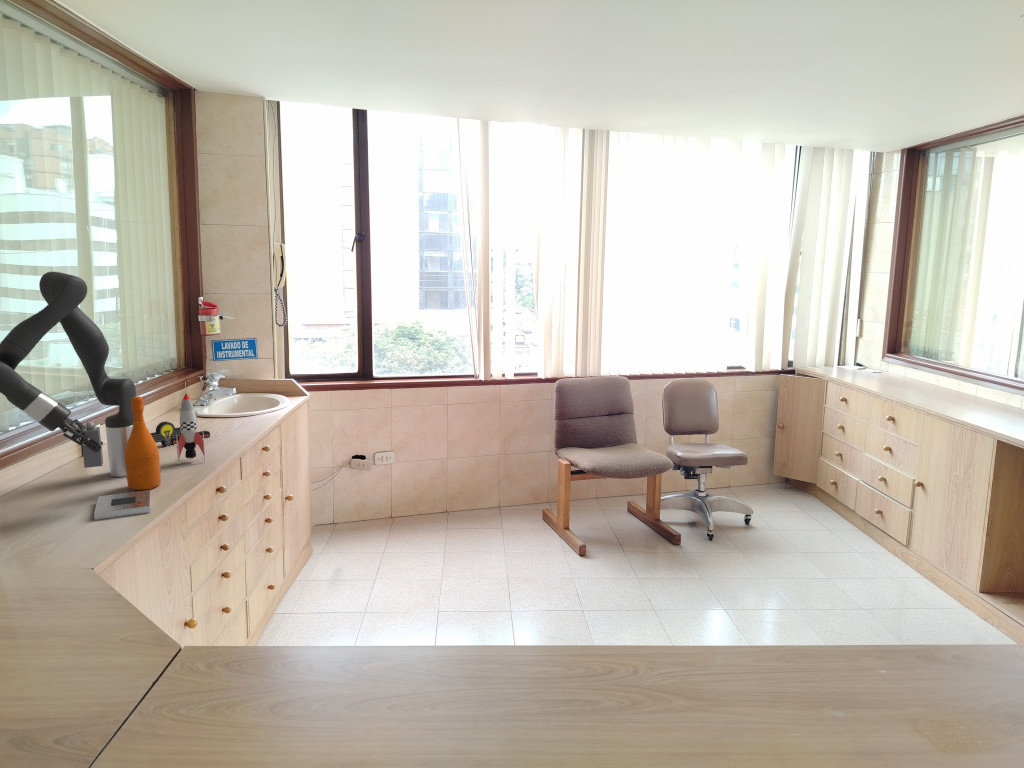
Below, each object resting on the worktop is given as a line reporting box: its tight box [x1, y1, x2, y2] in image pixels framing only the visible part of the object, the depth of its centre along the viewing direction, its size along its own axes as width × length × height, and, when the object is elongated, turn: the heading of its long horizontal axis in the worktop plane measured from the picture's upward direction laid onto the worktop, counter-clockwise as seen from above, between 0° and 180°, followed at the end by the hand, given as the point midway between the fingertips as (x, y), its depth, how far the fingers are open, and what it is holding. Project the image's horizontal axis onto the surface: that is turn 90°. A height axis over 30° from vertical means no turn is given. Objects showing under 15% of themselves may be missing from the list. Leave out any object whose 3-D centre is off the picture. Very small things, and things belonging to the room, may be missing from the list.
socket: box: [93, 489, 152, 521], centre depth 205 cm, size 16×14×3 cm
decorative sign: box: [150, 420, 211, 447], centre depth 276 cm, size 27×2×10 cm, turn 147°
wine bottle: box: [125, 396, 162, 491], centre depth 221 cm, size 10×10×30 cm
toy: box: [176, 381, 207, 465], centre depth 249 cm, size 9×8×30 cm
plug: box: [81, 421, 104, 469], centre depth 203 cm, size 4×4×13 cm
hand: (100, 447), depth 204 cm, fingers closed on plug, 4 cm apart
